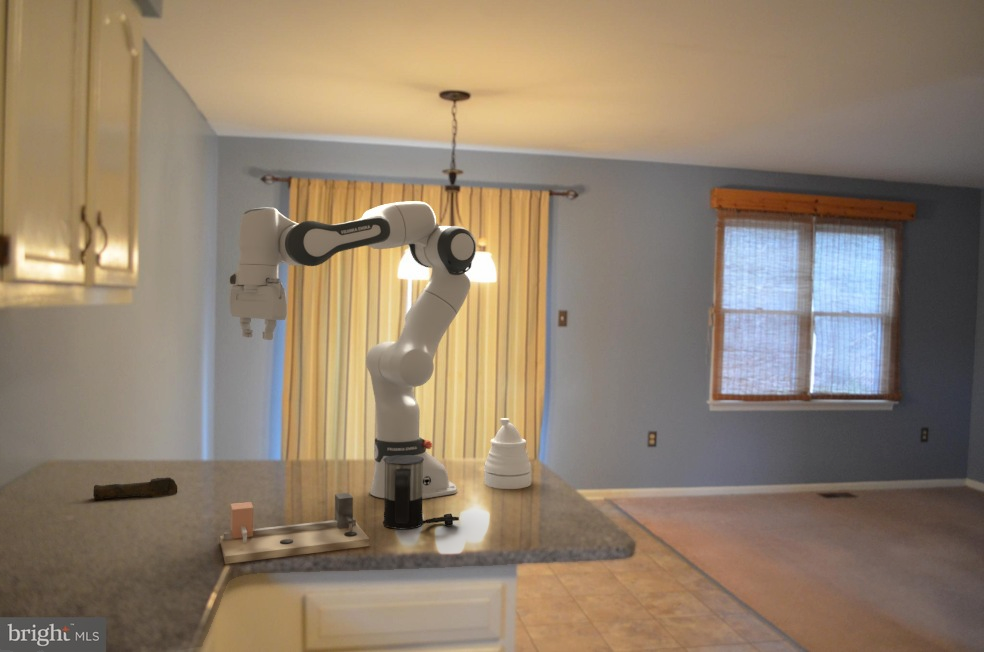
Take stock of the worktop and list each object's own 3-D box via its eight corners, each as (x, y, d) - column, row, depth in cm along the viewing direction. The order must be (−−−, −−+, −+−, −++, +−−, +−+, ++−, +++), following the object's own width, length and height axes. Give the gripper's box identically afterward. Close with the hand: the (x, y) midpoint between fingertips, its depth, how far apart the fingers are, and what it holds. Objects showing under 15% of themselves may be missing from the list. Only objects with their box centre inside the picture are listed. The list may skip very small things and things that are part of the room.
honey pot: (516, 491, 199) (517, 423, 198) (475, 484, 205) (476, 418, 204) (539, 481, 209) (540, 417, 209) (499, 475, 216) (500, 412, 215)
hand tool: (92, 503, 184) (91, 484, 184) (95, 498, 188) (95, 480, 188) (175, 498, 189) (175, 479, 189) (177, 493, 193) (177, 475, 193)
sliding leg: (250, 530, 158) (250, 501, 157) (255, 544, 149) (255, 513, 149) (230, 533, 156) (230, 503, 156) (234, 546, 148) (234, 516, 147)
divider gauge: (354, 527, 167) (354, 491, 166) (369, 545, 155) (369, 507, 154) (220, 542, 156) (220, 504, 155) (225, 564, 144) (224, 522, 143)
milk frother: (378, 519, 173) (378, 455, 172) (443, 513, 179) (444, 450, 178) (393, 539, 160) (394, 469, 159) (464, 531, 165) (464, 464, 165)
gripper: (294, 278, 168) (293, 341, 168) (250, 278, 182) (248, 335, 182) (268, 277, 163) (267, 341, 164) (225, 277, 177) (223, 336, 178)
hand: (257, 338), depth 173 cm, fingers open, 8 cm apart
